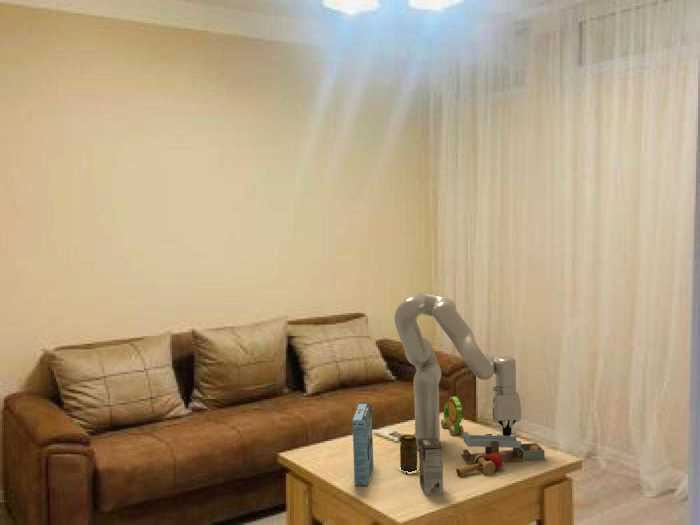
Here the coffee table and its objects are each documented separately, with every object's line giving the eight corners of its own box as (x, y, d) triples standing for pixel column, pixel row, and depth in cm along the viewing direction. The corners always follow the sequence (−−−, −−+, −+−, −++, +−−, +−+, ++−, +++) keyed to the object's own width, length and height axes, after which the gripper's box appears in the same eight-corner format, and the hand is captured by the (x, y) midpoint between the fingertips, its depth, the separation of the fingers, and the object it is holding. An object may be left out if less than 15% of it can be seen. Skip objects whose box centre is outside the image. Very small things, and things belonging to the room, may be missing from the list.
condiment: (412, 464, 256) (411, 432, 254) (424, 471, 248) (424, 439, 247) (395, 467, 252) (394, 435, 251) (407, 475, 245) (406, 442, 244)
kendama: (466, 485, 239) (509, 468, 246) (462, 466, 239) (505, 451, 246) (455, 481, 246) (497, 465, 253) (451, 463, 246) (493, 448, 253)
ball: (529, 450, 258) (536, 445, 258) (526, 447, 262) (533, 441, 262) (534, 458, 259) (542, 452, 259) (531, 454, 262) (538, 449, 262)
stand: (467, 464, 253) (467, 443, 253) (461, 455, 263) (461, 435, 262) (523, 461, 255) (523, 440, 255) (515, 452, 264) (515, 432, 264)
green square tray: (523, 460, 256) (523, 451, 256) (516, 453, 264) (516, 444, 264) (544, 459, 257) (544, 450, 256) (536, 451, 265) (536, 443, 264)
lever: (467, 446, 254) (468, 437, 254) (459, 435, 267) (459, 426, 266) (521, 448, 256) (521, 438, 256) (510, 436, 269) (510, 427, 268)
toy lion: (440, 426, 297) (439, 391, 296) (452, 425, 298) (451, 390, 297) (454, 438, 282) (453, 401, 280) (466, 437, 283) (466, 400, 282)
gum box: (368, 486, 236) (366, 420, 234) (353, 486, 237) (351, 420, 235) (373, 464, 256) (372, 403, 254) (359, 464, 256) (358, 403, 254)
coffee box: (419, 484, 237) (418, 438, 235) (437, 483, 237) (437, 437, 236) (424, 495, 228) (423, 447, 226) (443, 494, 228) (443, 446, 227)
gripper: (489, 393, 259) (490, 441, 261) (528, 390, 260) (529, 438, 262) (483, 388, 267) (485, 435, 268) (521, 385, 268) (522, 432, 269)
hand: (507, 436), depth 265 cm, fingers closed
